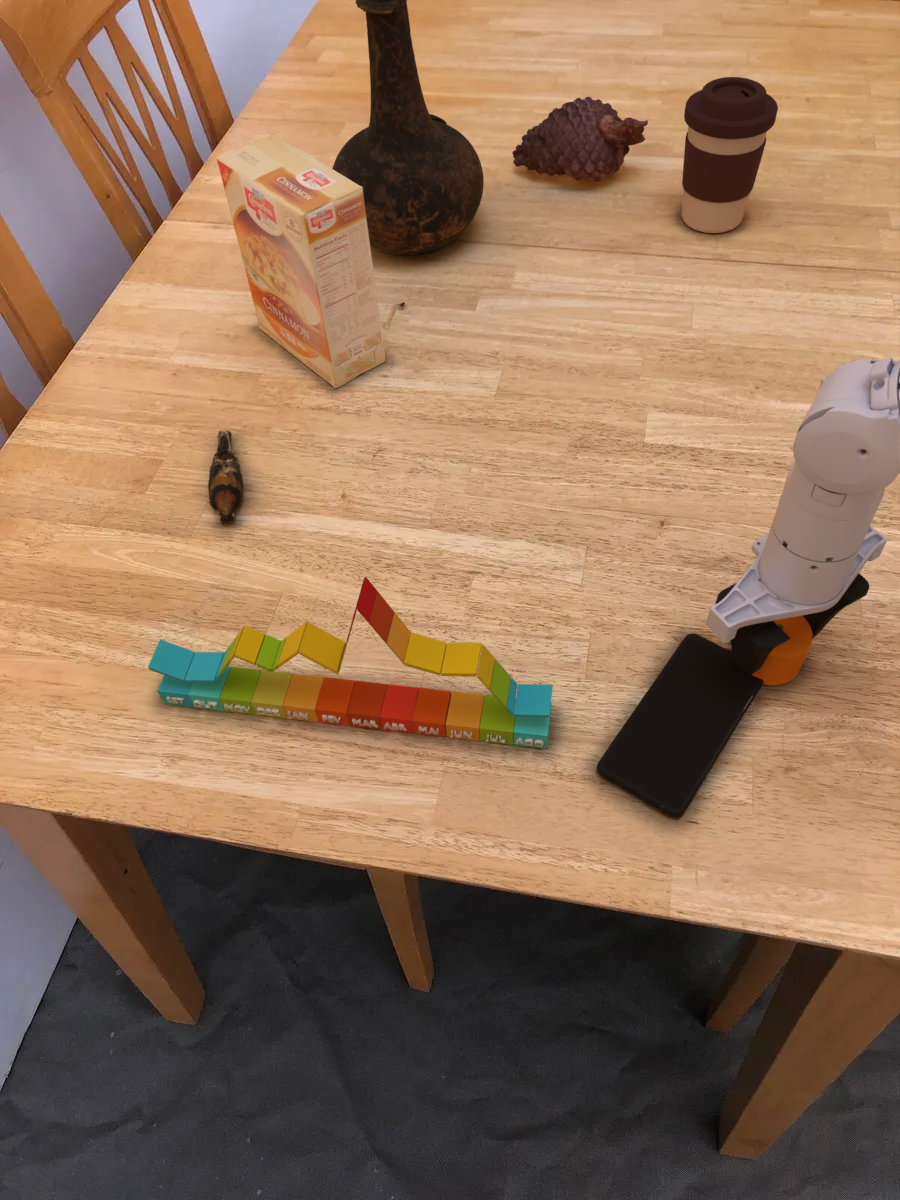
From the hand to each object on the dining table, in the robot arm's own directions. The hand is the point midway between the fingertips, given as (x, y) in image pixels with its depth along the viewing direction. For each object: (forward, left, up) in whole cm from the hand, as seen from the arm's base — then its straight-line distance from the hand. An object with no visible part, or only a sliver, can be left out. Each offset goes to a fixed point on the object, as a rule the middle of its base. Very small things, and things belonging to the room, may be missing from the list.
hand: (771, 648), depth 71 cm
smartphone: (0, +9, -2) cm, 9 cm away
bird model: (+45, +25, -2) cm, 51 cm away
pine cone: (+68, -38, -2) cm, 78 cm away
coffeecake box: (+58, +7, -2) cm, 58 cm away
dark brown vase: (+70, -13, -2) cm, 71 cm away
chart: (+16, +29, -2) cm, 33 cm away
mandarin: (0, 0, -1) cm, 1 cm away
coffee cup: (+49, -43, -2) cm, 65 cm away
